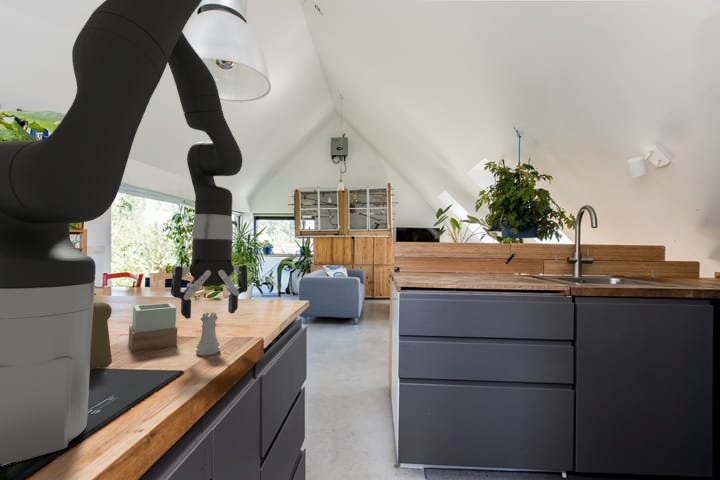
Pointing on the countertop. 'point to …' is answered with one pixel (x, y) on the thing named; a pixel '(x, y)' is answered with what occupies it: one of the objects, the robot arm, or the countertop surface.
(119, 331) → the countertop surface
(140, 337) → the walnut base block
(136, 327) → the sage top block
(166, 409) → the countertop surface
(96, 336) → the olive tapered piece
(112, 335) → the countertop surface
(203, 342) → the rook chess piece
